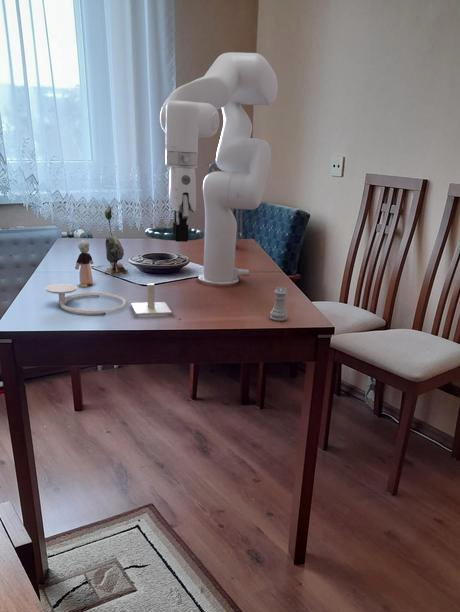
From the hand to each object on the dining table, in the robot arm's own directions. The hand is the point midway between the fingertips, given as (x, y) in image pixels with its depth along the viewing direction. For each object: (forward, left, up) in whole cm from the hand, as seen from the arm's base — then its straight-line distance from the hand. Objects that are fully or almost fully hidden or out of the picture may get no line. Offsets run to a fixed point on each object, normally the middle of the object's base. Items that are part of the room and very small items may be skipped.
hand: (180, 239), depth 139 cm
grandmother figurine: (+22, -24, -17) cm, 37 cm away
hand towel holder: (+24, -4, -17) cm, 30 cm away
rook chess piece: (-23, +14, -17) cm, 32 cm away
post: (+8, +4, -17) cm, 19 cm away
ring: (0, -7, 0) cm, 7 cm away
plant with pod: (+12, -36, -17) cm, 42 cm away
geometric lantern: (-36, -78, -17) cm, 88 cm away
